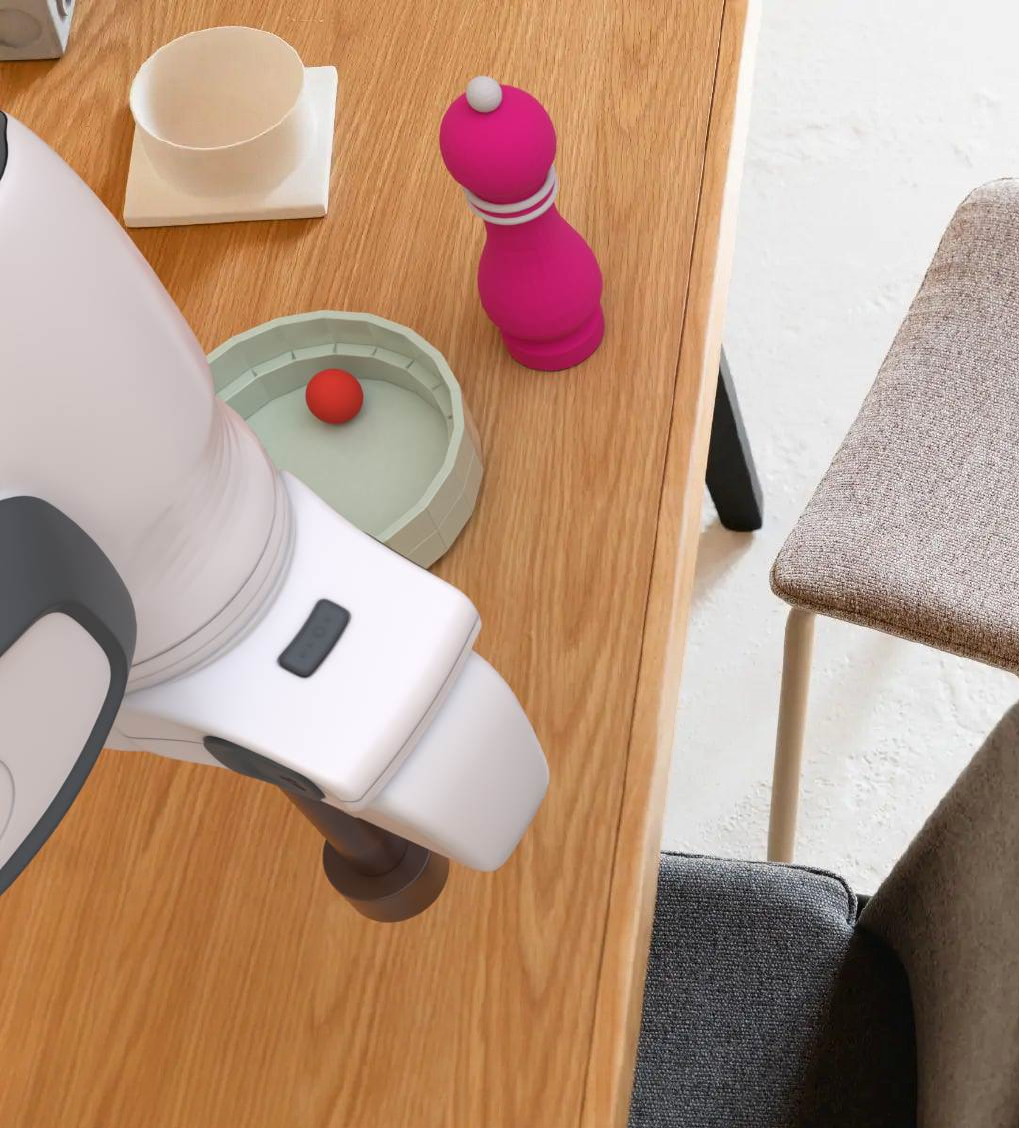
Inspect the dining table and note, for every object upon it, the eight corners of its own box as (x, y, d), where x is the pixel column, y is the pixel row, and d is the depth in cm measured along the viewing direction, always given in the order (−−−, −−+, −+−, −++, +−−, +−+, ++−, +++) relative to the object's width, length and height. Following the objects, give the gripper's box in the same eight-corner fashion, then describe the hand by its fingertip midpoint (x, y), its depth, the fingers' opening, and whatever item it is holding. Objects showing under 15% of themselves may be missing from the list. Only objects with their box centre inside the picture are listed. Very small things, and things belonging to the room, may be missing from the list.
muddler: (413, 940, 62) (281, 798, 48) (323, 897, 63) (168, 746, 49) (469, 845, 64) (358, 683, 50) (381, 805, 65) (248, 635, 51)
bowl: (381, 664, 82) (350, 618, 77) (124, 554, 85) (79, 504, 80) (539, 424, 89) (520, 368, 84) (297, 332, 93) (265, 274, 88)
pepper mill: (490, 381, 91) (399, 136, 73) (500, 287, 94) (415, 32, 77) (610, 376, 91) (547, 130, 73) (615, 283, 94) (556, 27, 77)
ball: (350, 441, 88) (333, 410, 85) (305, 424, 89) (286, 391, 86) (380, 400, 89) (364, 368, 86) (335, 383, 90) (318, 350, 87)
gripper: (-221, 541, 42) (20, 738, 54) (399, 821, 38) (512, 968, 50) (-68, 375, 45) (129, 597, 57) (526, 618, 41) (604, 803, 53)
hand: (312, 772), depth 53 cm, fingers closed on muddler, 2 cm apart
